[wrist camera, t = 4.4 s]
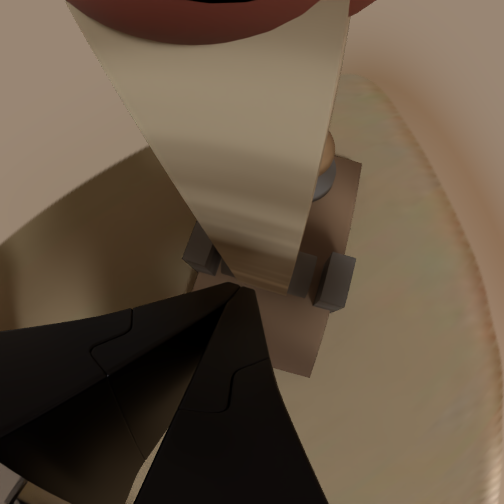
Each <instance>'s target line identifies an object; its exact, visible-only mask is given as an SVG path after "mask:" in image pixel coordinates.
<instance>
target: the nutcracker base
mask: <svg viewBox="0 0 504 504" xmlns="http://www.w3.org/2000/svg"><path fill="white" fill-rule="evenodd" d="M334 155H335V144H334V140H333V137H332V135H331V133H330V132H328V136H327V141H326V145H325V150H324V154H323V158H322V163H321V167H320V171H319V175H318V180H317V184H316V188H315V192H314V196H313V200H312V204H311V208H310V212H309V216H308V219H307V223H306V227H305V231H304V235H303V238H302V242H301V246H300V250H299V251H300V252H304V253H307V254H311V255H314V256H317V262H316V266H315V270H314V274H313V277H312V281H311V284H310V287H309V290H308V293H307V295H306V298H302V297H298V296H295V295H291V294H288V293H287V294H286V296H285V295H281V294H278V293H275V292H271V291H268V290H265V289H261V288H258V287H255V286H251V285H248V284H245V283H242V282H238V280H237V279H236V278H235V277H231V276H228V275H225V274H222V273H221V261H222V257H221V255H220V254H219V252H218V251H217V249H216V248H215V246H214V245H213V243H212V242H211V240H210V239H209V237H208V236H207V234H206V233H205V231H204V230H203V228H202V227H201V225H200V224H199V222H198V220H197V221H196V224H195V226H194V229H193V231H192V234H191V237H190V239H189V242H188V244H187V247H186V250H185V252H184V255H183V258H182V259H183V260H184V261H185V262H186V263H188V264H189V265H190V266H191V267H192V268H193V269H195V270H196V271H197V272H198V275H197V278H196V281H195V284H194V287H193V290H192V292H193V291H197V290H200V289H204V288H207V287H211V286H214V285H218V284H221V283H224V282H232V283H235V284H238V285H240V286H241V287H242V286H245V287H248V288H251V289H254V290H255V292H256V296H257V301H258V305H259V310H260V314H261V319H262V323H263V328H264V333H265V337H266V342H267V346H268V351H269V355H270V360H271V362H272V367H273V368H276V369H279V370H283V371H286V372H290V373H294V374H297V375H301V376H305V377H309V378H310V375H311V372H312V369H313V366H314V363H315V360H316V357H317V354H318V350H319V347H320V344H321V341H322V337H323V334H324V331H325V327H326V324H327V320H328V317H329V313H332V312H334V311H337V310H339V309H342V308H344V307H345V303H346V299H347V295H348V291H349V287H350V283H351V279H352V275H353V270H354V266H355V261H356V258H353V257H350V256H346V255H344V254H345V250H346V245H347V241H348V236H349V231H350V227H351V222H352V217H353V212H354V206H355V201H356V196H357V190H358V184H359V179H360V173H361V166H362V164H361V163H358V162H355V161H352V160H348V159H345V158H341V157H338V156H334Z"/></svg>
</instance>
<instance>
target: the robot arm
mask: <svg viewBox="0 0 504 504" xmlns="http://www.w3.org/2000/svg"><path fill="white" fill-rule="evenodd" d="M167 429H168V430H167ZM166 430H167V432H166ZM165 432H166V434H165V436H164V438H163V440H162V443H161V445H160V447H159V449H158V451H157V453H156V456H155V458H154V460H153V462H152V464H151V467H150V469H149V471H148V473H147V475H146V477H145V480H144V482H143V484H142V486H141V488H140V490H139V493H138V495H137V497H136V499H135V501H134V503H133V504H329V503H328V501H327V499H326V497H325V495H324V492H323V490H322V488H321V486H320V484H319V482H318V479H317V477H316V475H315V473H314V471H313V468H312V466H311V464H310V462H309V459H308V457H307V455H306V453H305V450H304V448H303V446H302V444H301V441H300V439H299V437H298V434H297V432H296V430H295V428H294V425H293V423H292V421H291V418H290V416H289V414H288V411H287V409H286V407H285V404H284V402H283V399H282V396H281V394H280V391H279V388H278V385H277V382H276V378H275V375H274V371H273V367H272V362H271V360H270V355H269V351H268V346H267V342H266V337H265V333H264V328H263V323H262V319H261V314H260V310H259V305H258V301H257V296H256V292H255V290H254V289H251V288H248V287H245V286H242V287H241V286H240V285H238V284H235V283H232V282H224V283H221V284H218V285H214V286H211V287H207V288H204V289H200V290H197V291H193V292H189V293H186V294H182V295H179V296H175V297H172V298H168V299H164V300H161V301H157V302H153V303H150V304H146V305H142V306H139V307H135V308H133V310H132V309H131V308H129V309H126V310H122V311H118V312H114V313H110V314H106V315H101V316H96V317H91V318H86V319H80V320H74V321H68V322H62V323H56V324H49V325H42V326H36V327H29V328H22V329H15V330H7V331H0V504H125V503H126V500H127V498H128V495H129V493H130V490H131V488H132V485H133V483H134V480H135V478H136V475H137V473H138V472H139V470H140V468H141V466H142V465H143V463H144V462H145V460H146V459H147V458H148V456H149V455H150V453H151V452H152V450H153V449H154V448H155V446H156V445H157V443H158V442H159V440H160V439H161V437H162V436H163V434H164V433H165Z"/></svg>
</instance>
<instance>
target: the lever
mask: <svg viewBox="0 0 504 504" xmlns="http://www.w3.org/2000/svg"><path fill="white" fill-rule="evenodd" d="M374 1H376V0H66V4H67V6H68V7H69V9H70V11H71V13H72V15H73V17H74V19H75V21H76V22H77V24H78V26H79V28H80V29H81V31H82V33H83V35H84V37H85V38H86V40H87V42H88V44H89V45H90V47H91V49H92V51H93V52H94V54H95V56H96V57H97V59H98V61H99V63H100V64H101V66H102V68H103V70H104V71H105V73H106V75H107V76H108V78H109V80H110V81H111V83H112V85H113V86H114V88H115V90H116V91H117V93H118V95H119V96H120V98H121V100H122V101H123V103H124V105H125V106H126V108H127V110H128V111H129V113H130V115H131V116H132V118H133V119H134V121H135V123H136V125H137V126H138V128H139V129H140V131H141V133H142V134H143V136H144V137H145V139H146V141H147V142H148V144H149V146H150V147H151V149H152V150H153V152H154V154H155V155H156V157H157V158H158V160H159V161H160V163H161V165H162V166H163V168H164V169H165V171H166V173H167V174H168V176H169V177H170V179H171V180H172V182H173V183H174V185H175V187H176V188H177V190H178V191H179V193H180V194H181V196H182V197H183V199H184V201H185V202H186V204H187V205H188V207H189V208H190V210H191V211H192V213H193V214H194V216H195V217H196V219H197V220H198V222H199V224H200V225H201V227H202V228H203V230H204V231H205V233H206V234H207V236H208V237H209V239H210V240H211V242H212V243H213V245H214V246H215V248H216V249H217V251H218V252H219V254H220V255H221V257H222V261H221V273H222V274H225V275H228V276H231V277H235V278H236V279H237V280H238V282H242V283H245V284H248V285H251V286H255V287H258V288H261V289H265V290H268V291H271V292H275V293H278V294H281V295H285V296H286V294H287V293H288V294H291V295H295V296H298V297H302V298H306V295H307V293H308V290H309V287H310V284H311V281H312V277H313V274H314V270H315V266H316V262H317V256H314V255H311V254H307V253H304V252H300V251H299V250H300V246H301V242H302V238H303V235H304V231H305V227H306V223H307V219H308V216H309V212H310V208H311V204H312V200H313V196H314V192H315V188H316V184H317V180H318V175H319V171H320V167H321V163H322V158H323V154H324V150H325V145H326V141H327V136H328V132H329V127H330V123H331V118H332V113H333V109H334V104H335V99H336V94H337V89H338V84H339V79H340V74H341V68H342V63H343V57H344V52H345V46H346V41H347V35H348V29H349V23H350V17H351V16H352V15H354V14H356V13H358V12H359V11H361V10H362V9H364V8H365V7H367V6H368V5H370V4H371V3H373V2H374Z"/></svg>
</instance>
